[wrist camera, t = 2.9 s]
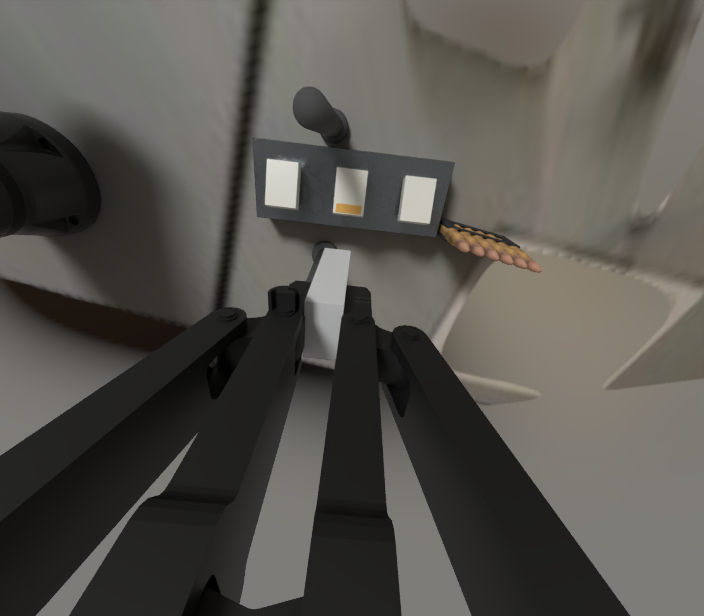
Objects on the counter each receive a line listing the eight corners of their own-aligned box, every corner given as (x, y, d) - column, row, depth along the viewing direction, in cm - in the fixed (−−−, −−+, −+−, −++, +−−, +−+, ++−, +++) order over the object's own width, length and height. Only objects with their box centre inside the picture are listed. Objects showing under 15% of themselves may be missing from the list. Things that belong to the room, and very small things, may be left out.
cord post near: (318, 141, 36) (284, 136, 20) (320, 107, 35) (283, 71, 18) (346, 144, 37) (334, 142, 20) (349, 111, 35) (338, 78, 18)
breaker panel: (266, 211, 41) (257, 216, 37) (262, 138, 36) (252, 138, 33) (429, 229, 42) (435, 237, 38) (446, 161, 37) (454, 162, 34)
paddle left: (269, 207, 35) (264, 204, 33) (271, 163, 34) (266, 158, 32) (298, 210, 35) (295, 208, 33) (301, 167, 34) (298, 162, 32)
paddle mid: (333, 214, 35) (332, 212, 33) (337, 171, 34) (336, 166, 32) (362, 217, 35) (363, 216, 33) (367, 174, 34) (368, 170, 32)
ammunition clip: (505, 236, 42) (553, 266, 31) (498, 248, 43) (543, 281, 32) (437, 217, 41) (464, 240, 30) (432, 229, 42) (456, 256, 31)
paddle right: (397, 221, 35) (399, 220, 34) (403, 179, 34) (406, 175, 33) (425, 224, 35) (429, 223, 34) (432, 182, 34) (436, 178, 33)
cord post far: (312, 264, 45) (284, 332, 29) (313, 240, 43) (284, 297, 27) (337, 267, 45) (324, 336, 29) (339, 243, 43) (326, 301, 27)
